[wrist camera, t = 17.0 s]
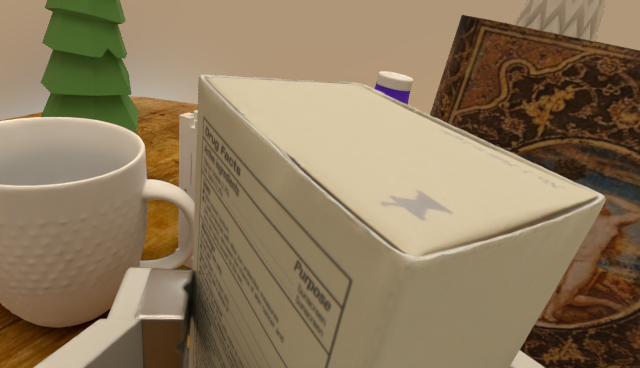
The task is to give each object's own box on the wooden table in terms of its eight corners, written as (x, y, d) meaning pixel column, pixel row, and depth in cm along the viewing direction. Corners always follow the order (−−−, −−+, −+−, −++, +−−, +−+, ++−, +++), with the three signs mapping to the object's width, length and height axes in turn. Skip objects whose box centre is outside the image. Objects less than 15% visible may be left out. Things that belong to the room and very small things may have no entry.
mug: (199, 250, 38) (204, 126, 32) (196, 342, 29) (203, 193, 23) (21, 252, 34) (-12, 109, 28) (-50, 363, 24) (-123, 184, 18)
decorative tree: (158, 178, 48) (152, -113, 35) (97, 212, 40) (57, -150, 27) (97, 156, 51) (68, -126, 37) (26, 184, 42) (-45, -165, 29)
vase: (511, 192, 65) (614, -27, 50) (557, 252, 50) (723, -34, 35) (414, 172, 65) (487, -52, 49) (431, 227, 50) (543, -70, 35)
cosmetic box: (393, 567, 11) (640, 207, 5) (246, 696, 8) (425, 279, 3) (290, 380, 15) (368, 77, 10) (174, 429, 13) (193, 64, 7)
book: (351, 346, 31) (455, 13, 19) (373, 305, 35) (468, 15, 24) (573, 464, 26) (895, 103, 14) (565, 397, 30) (804, 83, 19)
